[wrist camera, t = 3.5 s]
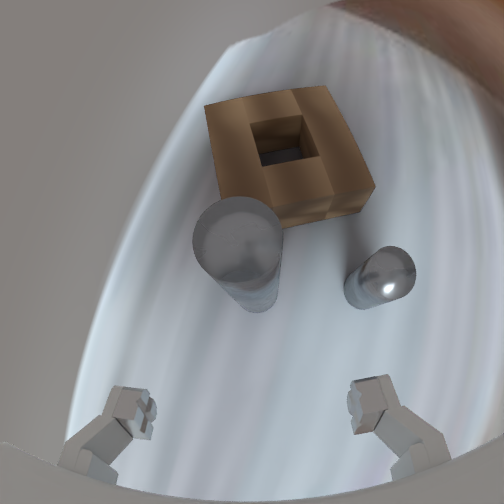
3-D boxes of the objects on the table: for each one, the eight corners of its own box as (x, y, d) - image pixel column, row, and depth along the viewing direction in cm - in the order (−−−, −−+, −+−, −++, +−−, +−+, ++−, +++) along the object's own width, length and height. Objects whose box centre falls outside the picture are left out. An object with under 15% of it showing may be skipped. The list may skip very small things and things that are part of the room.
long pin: (272, 267, 25) (271, 188, 12) (281, 307, 24) (293, 270, 11) (232, 276, 25) (187, 207, 12) (240, 316, 24) (200, 291, 11)
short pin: (374, 265, 24) (406, 241, 18) (385, 303, 23) (422, 290, 17) (339, 275, 24) (362, 252, 18) (349, 314, 24) (377, 305, 17)
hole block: (320, 117, 29) (325, 85, 25) (359, 211, 26) (375, 186, 21) (213, 137, 30) (204, 105, 25) (233, 239, 26) (224, 217, 21)
